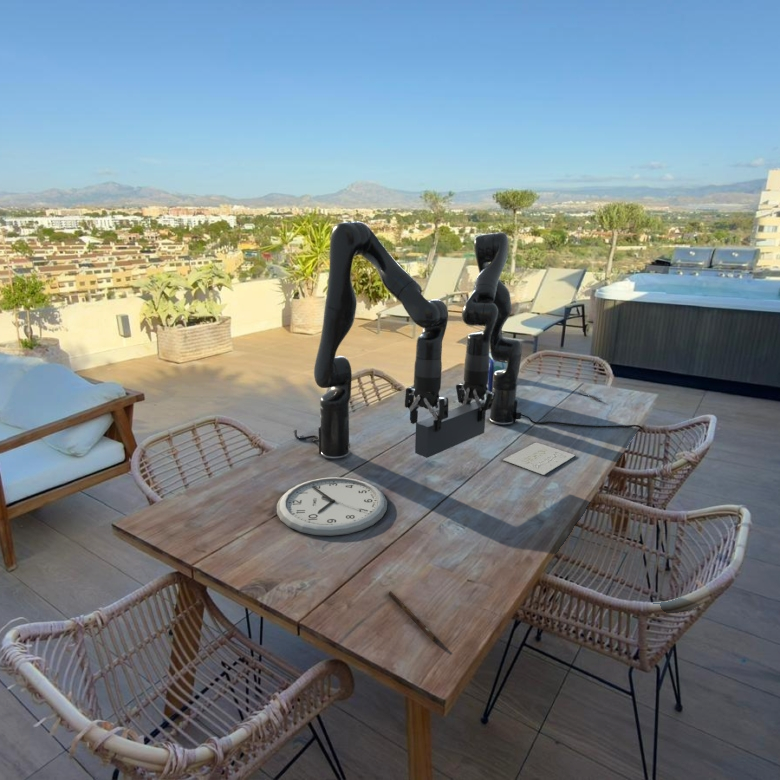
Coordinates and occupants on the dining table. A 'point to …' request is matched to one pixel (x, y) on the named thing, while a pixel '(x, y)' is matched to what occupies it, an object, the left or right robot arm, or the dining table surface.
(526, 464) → the invitation card
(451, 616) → the dining table surface
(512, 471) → the dining table surface
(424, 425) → the bar
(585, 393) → the fork
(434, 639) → the dark brown stick
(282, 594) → the dining table surface
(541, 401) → the dining table surface
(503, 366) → the lunch box
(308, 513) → the wall clock
